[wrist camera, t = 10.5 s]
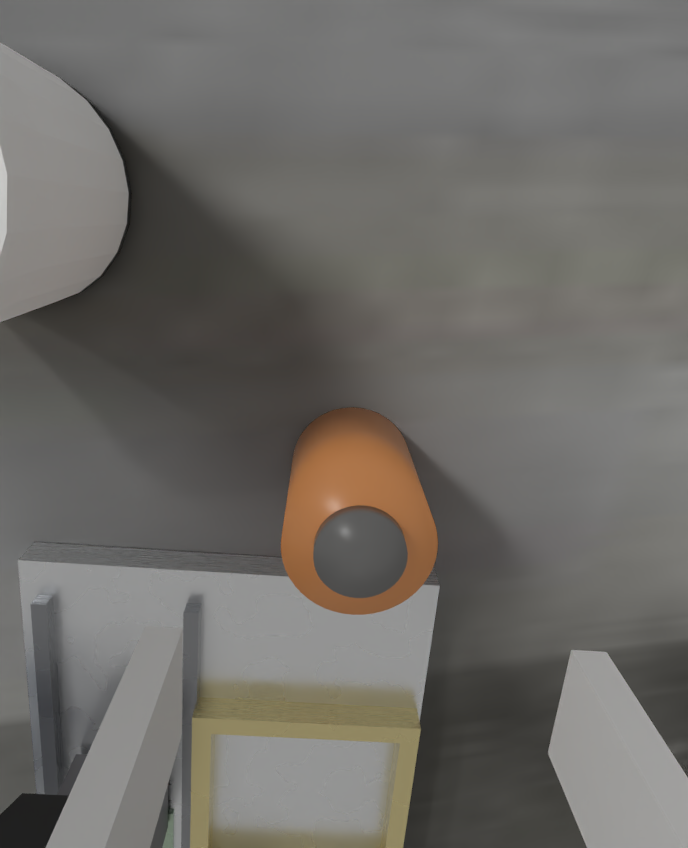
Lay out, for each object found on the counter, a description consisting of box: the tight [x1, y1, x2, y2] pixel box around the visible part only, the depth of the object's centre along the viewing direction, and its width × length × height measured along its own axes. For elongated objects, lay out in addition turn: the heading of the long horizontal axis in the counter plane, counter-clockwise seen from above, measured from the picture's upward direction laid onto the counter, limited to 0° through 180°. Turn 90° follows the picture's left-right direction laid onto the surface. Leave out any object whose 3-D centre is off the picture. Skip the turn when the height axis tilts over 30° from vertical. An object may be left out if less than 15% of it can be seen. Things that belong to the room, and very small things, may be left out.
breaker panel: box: [18, 542, 440, 848], centre depth 28 cm, size 16×17×3 cm
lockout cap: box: [281, 408, 438, 615], centre depth 22 cm, size 5×5×8 cm
